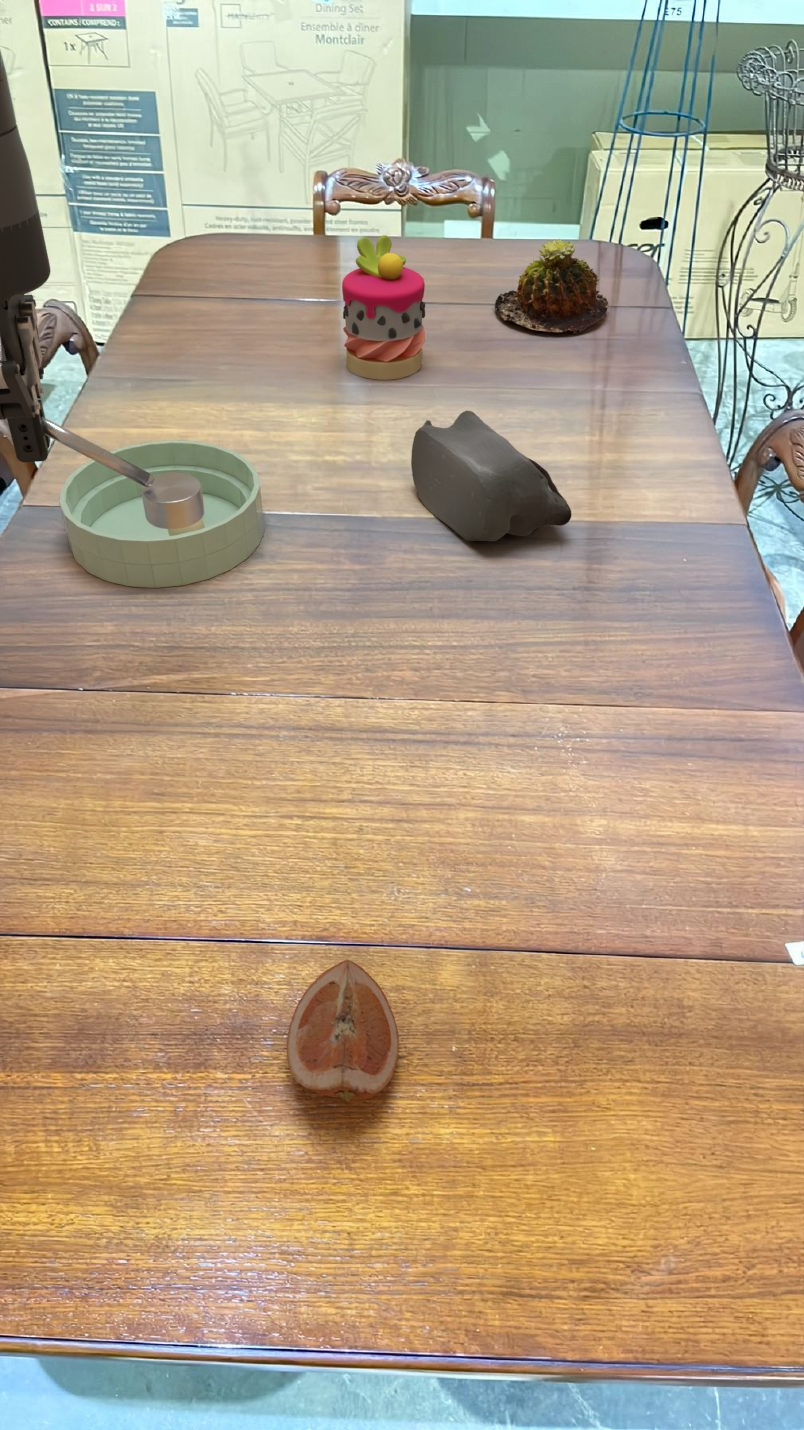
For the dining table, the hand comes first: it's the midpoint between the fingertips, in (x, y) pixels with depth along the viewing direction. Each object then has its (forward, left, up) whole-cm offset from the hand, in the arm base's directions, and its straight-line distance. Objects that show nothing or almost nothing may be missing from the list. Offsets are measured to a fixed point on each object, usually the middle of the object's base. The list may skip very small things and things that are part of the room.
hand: (34, 453), depth 80 cm
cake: (+35, +58, -21) cm, 71 cm away
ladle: (+5, 0, -6) cm, 8 cm away
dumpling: (+9, +17, -20) cm, 28 cm away
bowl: (+7, +20, -21) cm, 29 cm away
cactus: (+61, +71, -21) cm, 96 cm away
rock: (+40, +21, -21) cm, 50 cm away
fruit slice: (+17, -41, -21) cm, 49 cm away
